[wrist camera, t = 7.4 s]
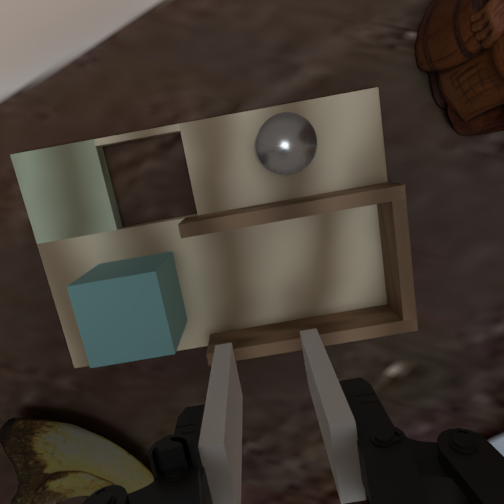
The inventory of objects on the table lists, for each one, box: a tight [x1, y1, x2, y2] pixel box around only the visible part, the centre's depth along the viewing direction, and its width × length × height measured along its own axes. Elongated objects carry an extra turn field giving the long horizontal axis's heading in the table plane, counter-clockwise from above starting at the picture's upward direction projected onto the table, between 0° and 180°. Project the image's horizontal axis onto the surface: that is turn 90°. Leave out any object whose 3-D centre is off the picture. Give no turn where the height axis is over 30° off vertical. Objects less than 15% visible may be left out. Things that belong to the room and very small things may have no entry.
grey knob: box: [254, 112, 317, 175], centre depth 27 cm, size 4×4×7 cm
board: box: [10, 87, 388, 368], centre depth 33 cm, size 28×18×2 cm, turn 100°
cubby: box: [178, 182, 418, 365], centre depth 31 cm, size 16×11×4 cm
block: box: [67, 251, 188, 368], centre depth 30 cm, size 6×6×6 cm
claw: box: [0, 418, 154, 504], centre depth 36 cm, size 20×10×3 cm, turn 48°
